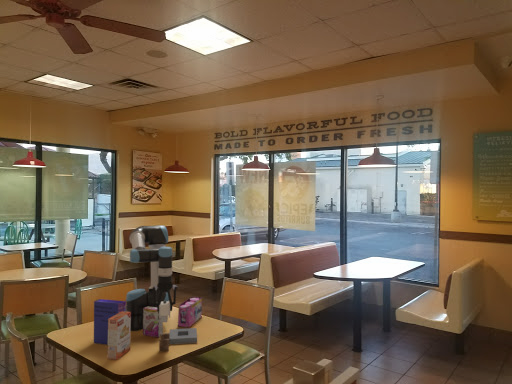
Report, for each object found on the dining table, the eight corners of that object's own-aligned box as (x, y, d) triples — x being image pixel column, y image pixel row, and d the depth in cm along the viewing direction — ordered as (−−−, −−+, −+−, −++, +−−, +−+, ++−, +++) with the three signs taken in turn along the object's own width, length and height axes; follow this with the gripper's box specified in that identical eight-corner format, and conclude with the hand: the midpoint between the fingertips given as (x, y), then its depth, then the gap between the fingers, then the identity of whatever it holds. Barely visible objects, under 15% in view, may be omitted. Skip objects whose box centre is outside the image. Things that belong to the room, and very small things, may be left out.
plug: (160, 323, 214) (160, 303, 214) (161, 319, 220) (161, 299, 220) (168, 322, 215) (168, 302, 215) (169, 318, 221) (169, 299, 221)
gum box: (188, 328, 249) (188, 306, 249) (176, 327, 251) (176, 305, 251) (202, 316, 272) (202, 297, 272) (191, 315, 274) (191, 296, 274)
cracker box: (117, 360, 200) (118, 319, 200) (106, 359, 201) (107, 318, 201) (131, 349, 214) (131, 311, 214) (120, 348, 215) (121, 310, 215)
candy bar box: (142, 335, 235) (142, 308, 235) (147, 332, 240) (147, 305, 240) (158, 337, 231) (158, 310, 231) (163, 335, 236) (163, 307, 236)
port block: (168, 344, 222) (168, 339, 222) (169, 334, 237) (169, 329, 237) (197, 342, 224) (197, 337, 224) (196, 332, 240) (196, 328, 240)
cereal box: (125, 343, 223) (126, 301, 223) (120, 346, 218) (121, 303, 218) (99, 340, 227) (99, 298, 227) (93, 343, 223) (94, 300, 223)
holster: (159, 351, 212) (159, 340, 212) (160, 344, 222) (160, 333, 222) (168, 350, 213) (168, 339, 213) (169, 343, 223) (169, 333, 223)
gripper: (148, 277, 212) (147, 319, 212) (181, 276, 215) (180, 318, 215) (149, 274, 220) (149, 315, 220) (181, 273, 223) (180, 314, 223)
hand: (164, 316), depth 218 cm, fingers closed on plug, 4 cm apart
